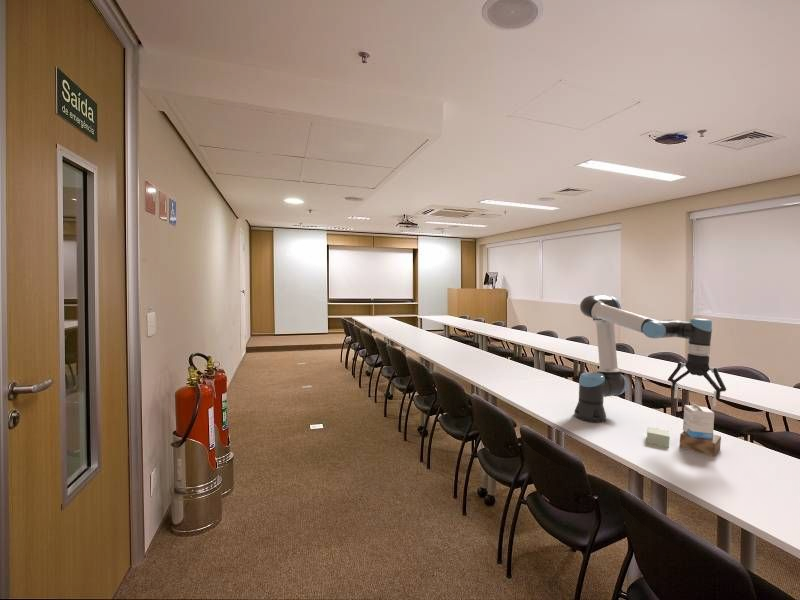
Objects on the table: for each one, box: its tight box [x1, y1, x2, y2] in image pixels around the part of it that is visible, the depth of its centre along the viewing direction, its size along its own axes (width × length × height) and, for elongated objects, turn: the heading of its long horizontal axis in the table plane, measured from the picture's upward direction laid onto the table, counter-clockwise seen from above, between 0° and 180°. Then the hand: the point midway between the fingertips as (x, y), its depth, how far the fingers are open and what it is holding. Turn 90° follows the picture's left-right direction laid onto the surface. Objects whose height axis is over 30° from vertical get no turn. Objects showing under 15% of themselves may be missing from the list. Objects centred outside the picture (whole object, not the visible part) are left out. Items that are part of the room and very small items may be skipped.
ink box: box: [682, 402, 715, 439], centre depth 167 cm, size 9×8×13 cm
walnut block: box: [679, 430, 722, 458], centre depth 167 cm, size 12×12×6 cm
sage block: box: [646, 426, 670, 448], centre depth 172 cm, size 8×8×5 cm
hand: (694, 401), depth 168 cm, fingers open, 13 cm apart
